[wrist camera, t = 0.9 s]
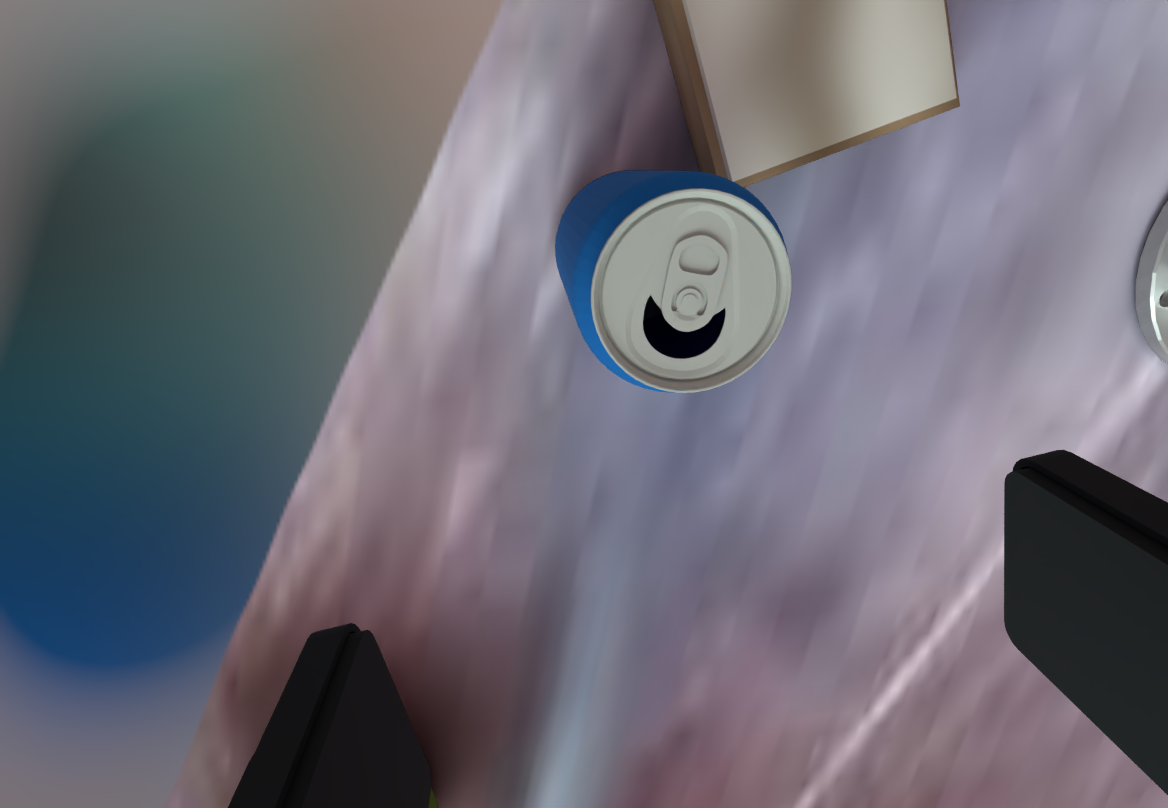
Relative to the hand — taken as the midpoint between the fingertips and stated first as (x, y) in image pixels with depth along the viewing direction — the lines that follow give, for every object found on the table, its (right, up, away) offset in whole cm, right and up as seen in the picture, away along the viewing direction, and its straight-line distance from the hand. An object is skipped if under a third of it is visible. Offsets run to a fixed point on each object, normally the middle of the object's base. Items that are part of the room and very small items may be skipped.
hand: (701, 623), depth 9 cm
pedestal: (+7, +19, +17) cm, 26 cm away
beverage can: (0, +10, +20) cm, 22 cm away
